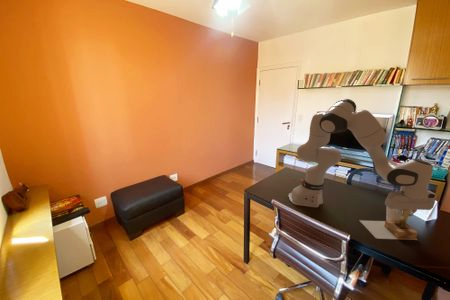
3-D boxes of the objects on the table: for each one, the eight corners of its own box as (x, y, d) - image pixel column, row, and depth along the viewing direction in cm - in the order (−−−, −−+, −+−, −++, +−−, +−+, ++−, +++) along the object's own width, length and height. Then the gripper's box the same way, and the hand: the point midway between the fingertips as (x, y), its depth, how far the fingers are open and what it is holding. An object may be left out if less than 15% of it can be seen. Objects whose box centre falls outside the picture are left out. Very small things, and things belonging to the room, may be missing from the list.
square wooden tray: (397, 238, 96) (399, 232, 95) (384, 226, 104) (385, 220, 103) (416, 239, 95) (418, 232, 94) (401, 226, 104) (403, 220, 103)
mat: (376, 239, 96) (376, 238, 96) (359, 221, 109) (359, 220, 109) (417, 240, 95) (417, 239, 95) (395, 222, 108) (395, 221, 108)
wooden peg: (401, 226, 97) (407, 206, 93) (396, 222, 99) (402, 203, 96) (406, 226, 97) (413, 206, 93) (402, 223, 99) (408, 203, 96)
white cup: (381, 218, 112) (383, 202, 110) (393, 217, 112) (395, 201, 111) (394, 225, 104) (396, 208, 103) (407, 224, 104) (409, 207, 103)
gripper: (395, 194, 90) (387, 218, 94) (441, 195, 88) (431, 220, 93) (385, 187, 96) (379, 211, 100) (428, 188, 94) (420, 212, 99)
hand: (404, 215), depth 96 cm, fingers closed on wooden peg, 3 cm apart
